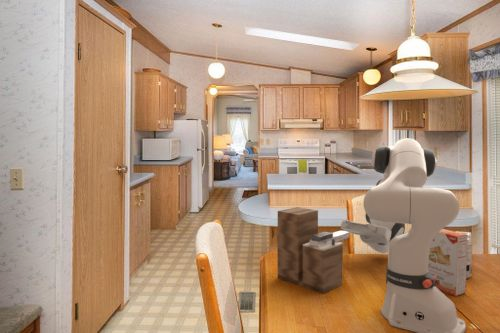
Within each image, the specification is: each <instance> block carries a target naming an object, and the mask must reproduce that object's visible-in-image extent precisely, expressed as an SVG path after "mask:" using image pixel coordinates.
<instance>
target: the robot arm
mask: <svg viewBox="0 0 500 333" xmlns="http://www.w3.org/2000/svg"><path fill="white" fill-rule="evenodd" d="M371 163H372V167H373V170H374V171H375V172H376V173H379V174H383V175H384V176H383V177H382V178H380V179H379V180H378V181H377V182H376V184H375V186H372V187H370V189H368V190H367V191H366V193H365V195H364V198H363V202H362V203H363V209H364V212H365V221H366V223H363V222H362V223H361V222H356V221H351V220H349V219H345V220H342V221H341V224H340V228H341V230H342V231H346V232H349V234H352V235H355V236H357V235H358V236H359V239H360V241H361V242H363V243H364V244H366V245H367V246H369V247H370V248H371V249H372V250H373V251H375V252H377V253H381V254H387V256H388V258H387V265H386V273H385V283H386V290H385V296H384V301H383V305H382V308H381V311H380V312H381V315H382V316H383V317H384V318H385V319H387V321H388V324H389V325H390V326H391V327H395V328H399V329H404V330H406V331H410V332H414V333H465V332H466V329H467V327H466V322H465V321H464V319H462V318H459V317H458V313H457V308H456V306H455V303H454V302H453V301H452V300H451V299H450V298H449V297H447V296H446V295H445V294H444V293H443V291H441V290H439V289H438V288H437V287H435V280H436V279H437V278H436V276H437V275H435V276H432V275H431V274H430V272H429V271H428V261H429V252H430V247H431V244H432V241H433V239H434V238H435V236H436V235H437V234H438V232H439V231H440V230H442V229H445V227H447V226H449V225H451V224H452V223H453V222H454V221H455V220H456V219H457V217H458V215H459V212H460V203H459V200H458V198H457V197H456V195H455V194H454V193H453V192H452V191H451V190H448V189H445V188H444V189H443V188H438V187H432V186H431V187H430V186H424V185H425V184H426V183H427V181H428V180H427V179H428V177H430V176H432V175H433V174H434V172H435V171H436V169H437V168H436V167H437V158H436V154H435V152H434V151H433V150H431V149H429V148H422V146H421V144H420V143H419V142H418V141H417V140H416V139H413V138H406V137H405V138H402V139H399V140H398V141H396V142H395V143H394V145H389V146H388V145H381V146H378V147H376V148H375V150H374V152H372V156H371ZM407 224H408V225H411V226H410V228H409V230H408V231H405V230H406V225H407Z"/></svg>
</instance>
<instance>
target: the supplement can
mask: <svg viewBox="0 0 500 333" xmlns="http://www.w3.org/2000/svg"><path fill="white" fill-rule="evenodd" d="M472 244H473V242H471V240H470V238H468V237H467V267H466V280H467V279H469V278H470V277H471V273H472V249H473V248H472V246H473V245H472Z"/></svg>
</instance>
